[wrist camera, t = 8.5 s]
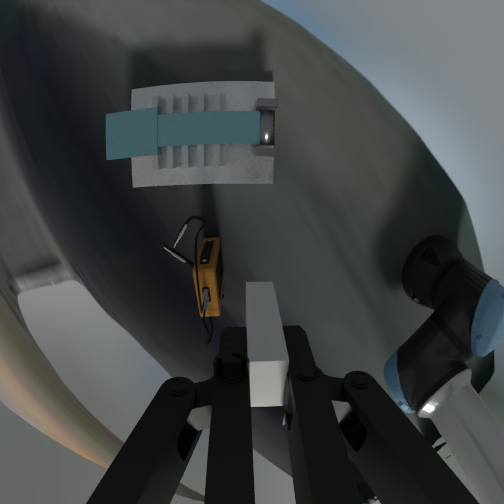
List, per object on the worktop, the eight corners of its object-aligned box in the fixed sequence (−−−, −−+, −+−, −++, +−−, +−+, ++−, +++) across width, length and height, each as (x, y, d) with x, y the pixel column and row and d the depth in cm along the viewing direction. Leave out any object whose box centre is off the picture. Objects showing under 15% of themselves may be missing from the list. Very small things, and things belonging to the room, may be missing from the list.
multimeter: (159, 219, 46) (112, 269, 27) (217, 214, 46) (204, 263, 27) (173, 297, 51) (146, 372, 32) (226, 293, 51) (222, 372, 33)
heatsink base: (273, 84, 39) (285, 64, 27) (271, 182, 44) (283, 194, 33) (136, 91, 38) (104, 77, 26) (137, 185, 43) (106, 199, 32)
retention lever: (273, 105, 31) (275, 103, 30) (273, 152, 34) (275, 152, 32) (111, 115, 31) (105, 114, 29) (112, 159, 33) (106, 160, 31)
